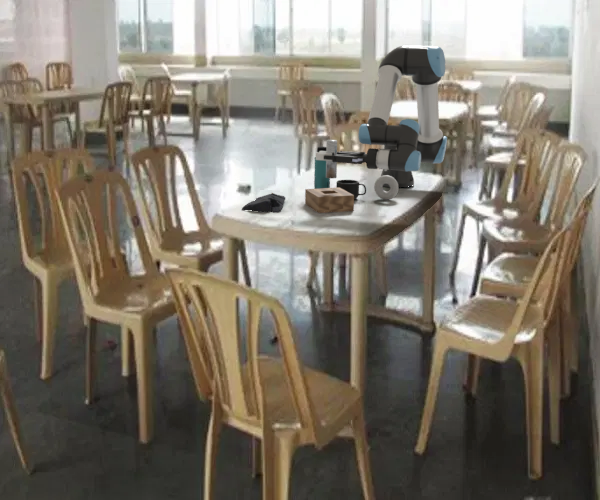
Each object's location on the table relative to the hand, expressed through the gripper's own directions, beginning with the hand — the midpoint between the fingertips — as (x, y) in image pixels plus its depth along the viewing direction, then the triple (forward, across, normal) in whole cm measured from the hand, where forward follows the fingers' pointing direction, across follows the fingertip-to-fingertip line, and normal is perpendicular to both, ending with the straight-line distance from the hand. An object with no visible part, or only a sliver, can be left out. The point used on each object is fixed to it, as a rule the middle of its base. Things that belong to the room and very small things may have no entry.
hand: (317, 155), depth 318 cm
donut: (-22, +22, -20) cm, 37 cm away
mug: (-9, +19, -20) cm, 29 cm away
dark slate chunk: (+19, -5, -21) cm, 28 cm away
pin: (-5, 0, -8) cm, 10 cm away
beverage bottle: (+4, +22, -20) cm, 30 cm away
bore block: (-5, 0, -20) cm, 20 cm away
